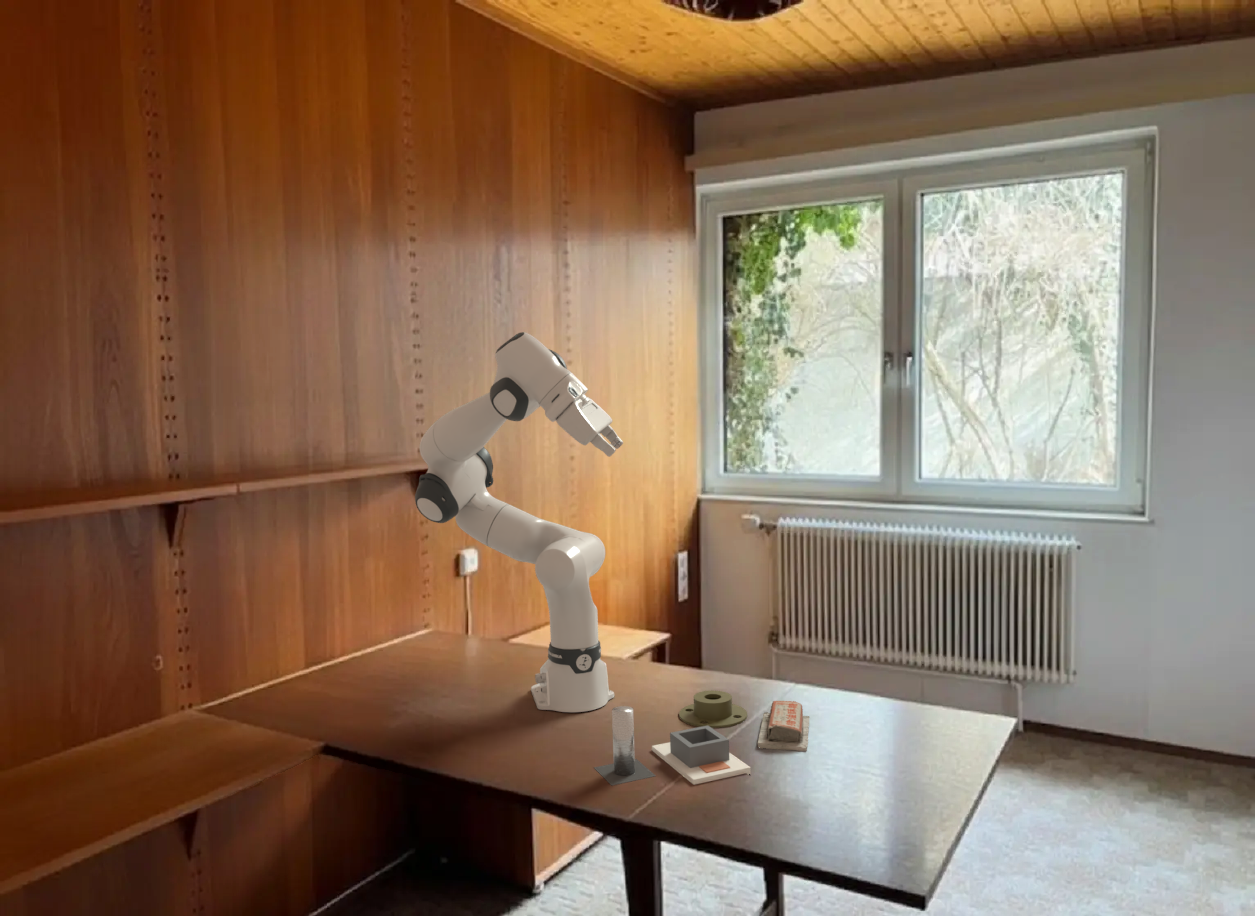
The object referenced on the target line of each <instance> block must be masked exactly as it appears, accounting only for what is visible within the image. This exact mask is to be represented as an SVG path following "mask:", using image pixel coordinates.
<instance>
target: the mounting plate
mask: <svg viewBox="0 0 1255 916" xmlns="http://www.w3.org/2000/svg"><path fill="white" fill-rule="evenodd" d="M669 739H670V740H669V742H663V743H660V744H653V745H651V751H652V752H653V753H654V754H656V755H657V756H658V757H659V758H661V759H662V760H663V761H664V762H665V763H667V764H668V765H669V766H670V767H671V768H673V769H674V770H675V771H676V772H677V773H679V774H680V775H681V776H683V777H684V779H686V780H687V781H688V782H690V784H691V785H699V784H703V783H708V782H711V781H718V780H721V779H726V778H731V777H734V776H740V775H744V774H746V775H748V776H750V775H749V774H752V772H751V770H752V769H751V768H752V767H751V766H749V765H748V764H747V763H745V762H743V761H742V760H741V759H739V758H738V757H736V756H735V755H733V754H732V753H731V752H730V739H729V738H727V736H724V735H723V734H722V733H720V732H718V731H717V730H715V728H711V727H710V726H708V725H707V726H702V727H697V726H696V727H693V728H687V729H683V730H678V731H672V732H670V733H669Z"/></svg>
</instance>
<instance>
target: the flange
mask: <svg viewBox="0 0 1255 916" xmlns="http://www.w3.org/2000/svg"><path fill="white" fill-rule="evenodd" d="M678 716H679V717H678V718H679V719H680V720H681V721H682V722H683V723H685V724H687V725H690V726H694V727H696V728H697V727H702V726H707V725H708V726H710V727H711V728H713V729H719V728H720V729H722V728H730V727H733V726H738V725H740V724H742V723H744V722H745V721H746V720H747V719H748V711H747V710H746V709H745V708H744V707H742V706H739V705H737V704H734V703H733V696H732V694H731V693H729V692H726V691H723V690H712V689H711V690H702V691H699V692H696V693H695V694H694V695H693V703H690V704H688V705H686V706H684V707H683V708H681V709H680V710H679V712H678ZM743 721H744V722H743ZM737 724H738V725H737Z"/></svg>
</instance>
